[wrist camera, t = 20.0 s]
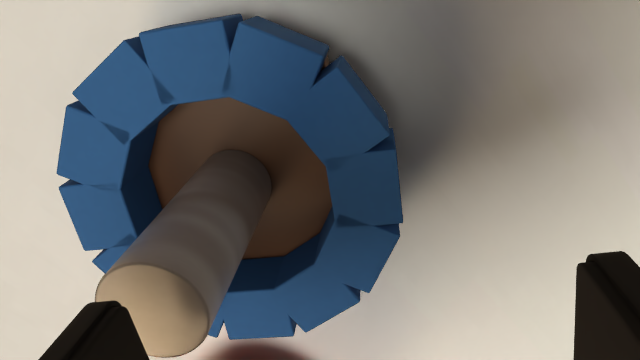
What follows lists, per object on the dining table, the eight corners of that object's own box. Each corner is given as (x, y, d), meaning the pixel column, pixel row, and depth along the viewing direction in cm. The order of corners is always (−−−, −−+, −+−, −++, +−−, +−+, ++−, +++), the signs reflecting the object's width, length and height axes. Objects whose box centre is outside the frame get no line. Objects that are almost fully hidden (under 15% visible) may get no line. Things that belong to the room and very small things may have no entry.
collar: (379, -10, 15) (380, -8, 13) (409, 292, 20) (413, 330, 18) (48, 45, 17) (2, 55, 15) (147, 309, 22) (122, 346, 20)
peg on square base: (326, 47, 18) (286, 114, 9) (361, 246, 21) (356, 431, 13) (116, 85, 19) (-91, 174, 11) (180, 265, 23) (63, 443, 14)
